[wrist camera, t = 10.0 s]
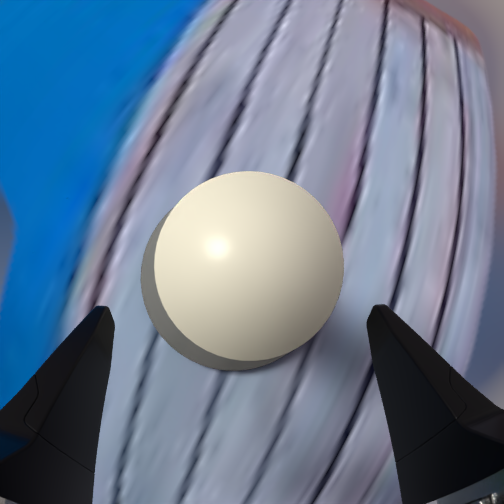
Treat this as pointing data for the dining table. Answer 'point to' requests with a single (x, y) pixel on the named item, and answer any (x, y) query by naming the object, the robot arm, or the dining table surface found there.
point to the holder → (168, 327)
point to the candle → (249, 266)
